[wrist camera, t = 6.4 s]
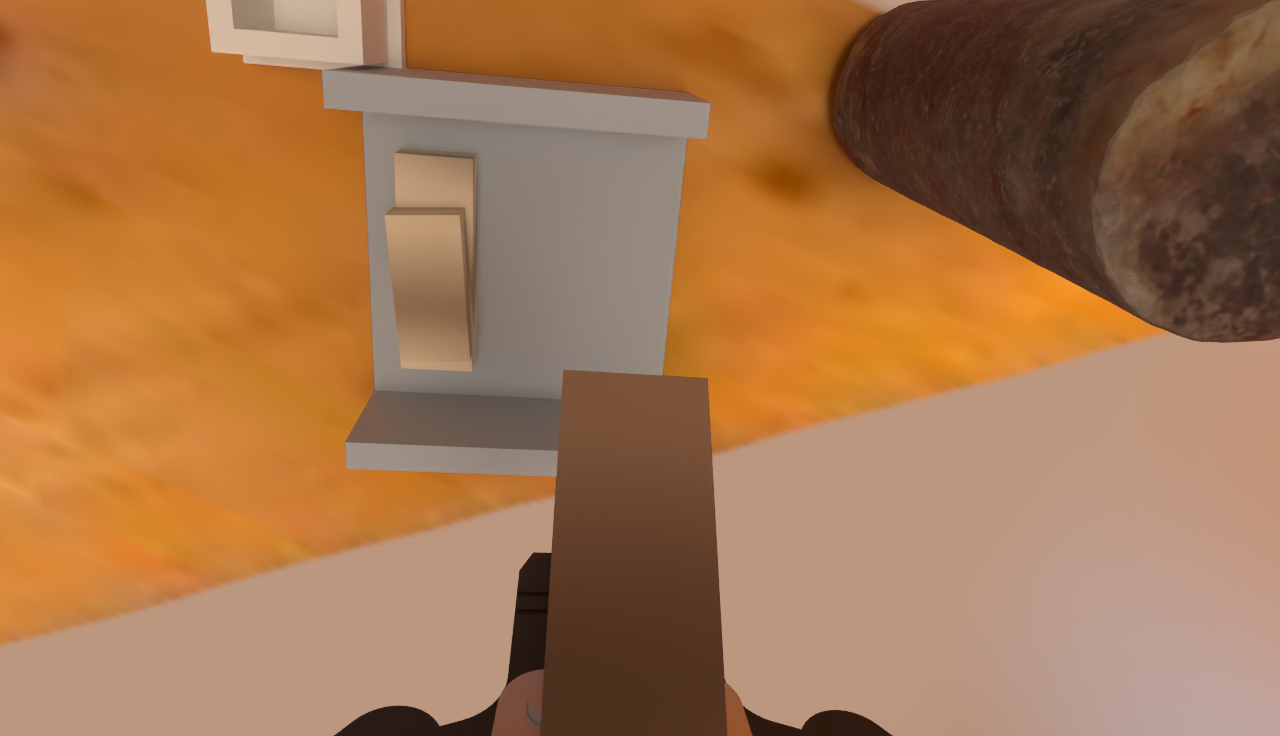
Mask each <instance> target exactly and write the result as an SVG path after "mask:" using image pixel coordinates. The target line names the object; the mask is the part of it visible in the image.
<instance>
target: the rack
mask: <svg viewBox="0 0 1280 736" xmlns="http://www.w3.org/2000/svg"><path fill="white" fill-rule="evenodd" d="M322 83H323V99H324V108H327V109H339V110H351V111H362V117H363V139H364V162H365V184H366V206H367V228H368V250H369V272H370V294H371V316H372V338H373V361H374V383H375V391H374V393H373V395H372V396H371V398H370V400H369V402H368V403H367V405H366V407H365V408H364V410H363V412H362V414H361V415H360V417H359V419H358V421H357V422H356V424H355V426H354V428H353V429H352V431H351V433H350V434H349V436H348V438H347V440H346V441H345V451H346V467H347V469H362V470H389V471H416V472H443V473H470V474H497V475H525V476H552V477H556V476H557V460H558V444H559V428H560V413H561V397H562V381H563V370H578V371H595V372H611V373H628V374H645V375H662V374H663V365H664V355H665V346H666V336H667V326H668V317H669V307H670V298H671V288H672V278H673V269H674V259H675V250H676V240H677V230H678V221H679V211H680V202H681V192H682V182H683V173H684V163H685V154H686V144H687V138H697V139H707V134H708V125H709V116H710V108H711V103H709V102H707V101H705V100H703V99H701V98H699V97H697V96H694V95H692V94H690V93H688V92H678V91H667V90H655V89H644V88H632V87H621V86H609V85H598V84H586V83H575V82H563V81H552V80H540V79H528V78H517V77H505V76H494V75H482V74H471V73H459V72H448V71H436V70H425V69H413V68H402V69H401V68H390V67H378V66H367V65H360V66H352V67H343V68H335V69H327V70H322ZM401 148H407V149H420V150H433V151H446V152H459V153H472V154H477V284H476V360H475V363H474V367H473V370H472V372H467V371H447V370H427V369H407V368H401V362H400V353H399V344H398V335H397V326H396V316H395V307H394V298H393V289H392V279H391V270H390V261H389V252H388V242H387V233H386V224H385V214H386V213H387V212H389V211H390V210H391V209H392V208H393V207H396V198H395V166H394V153H395V152H397V151H398V150H400V149H401Z"/></svg>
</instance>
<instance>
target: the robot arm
mask: <svg viewBox="0 0 1280 736" xmlns="http://www.w3.org/2000/svg"><path fill="white" fill-rule="evenodd" d="M551 554H552V553H533V554H532V555H531V556H530V558H529V559H528V560H527V562H526V563H525V564H524V565H523V567H522V568H521V569H520V571H519V581H518V589H517V598H516V608H515V617H514V626H513V636H512V645H511V655H510V664H509V673H508V679H507V684H506V686H505V688H504V690H503V691H502V693H501V695H500V697H499V698H498V699H497V700H496V701H495V702H494V703H493V704H492V705H491V706H490V707H488V708H487V709H486V710H484V711H483V712H481V713H479V714H477V715H475V716H473V717H471V718H468V719H465V720H462V721H458V722H454V723H450V724H447V725H443V726H439V725H438V723H437V722H436V721H435V719H434V718H433V717H431V716H430V715H429V714H428V713H426V712H424V711H422V710H420V709H417V708H413V707H408V706H388V707H384V708H379V709H376V710H373V711H370V712H368V713H366V714H364V715H362V716H360V717H359V718H357V719H356V720H354V721H353V722H352V723H350V724H349V725H348V726H346V727H345V728H344V729H342V730H341V731H340V732H338V733H337V734H336V735H334V736H540V728H541V712H542V696H543V681H544V665H545V649H546V633H547V617H548V602H549V586H550V570H551ZM724 681H725V678H724ZM725 699H726V717H727V735H728V736H892V735H891V734H889V733H888V732H887V731H885V730H884V729H883V728H881V727H880V726H879V725H877V724H876V723H874V722H873V721H871V720H869V719H867V718H865V717H863V716H861V715H858V714H855V713H852V712H848V711H841V710H829V711H824V712H820V713H817V714H815V715H814V716H812V717H810V718H809V719H808V720H807V721H806V722H805V724H804V726H803V727H802V730H801V729H798V728H794V727H791V726H787V725H783V724H780V723H776V722H773V721H769V720H766V719H764V718H762V717H760V716H757V715H756V714H754V713H752V712H751V711H749V710H748V709H746V708H745V707H744V706H743V705H742V702H741V700H740V698H739V696H738V695H737V693H736V692H735V691H734V690H733V689H732V688H731V686H729V685H728V684H727V683H726V681H725Z"/></svg>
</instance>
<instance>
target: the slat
mask: <svg viewBox="0 0 1280 736" xmlns="http://www.w3.org/2000/svg"><path fill="white" fill-rule="evenodd" d="M716 539H717V538H716V520H715V503H714V484H713V467H712V448H711V431H710V413H709V395H708V378H695V377H678V376H662V375H645V374H628V373H611V372H595V371H578V370H563V381H562V397H561V413H560V428H559V444H558V460H557V476H556V491H555V507H554V524H553V539H552V554H551V570H550V586H549V602H548V617H547V633H546V649H545V665H544V681H543V696H542V712H541V728H540V736H728V735H727V717H726V699H725V681H724V663H723V647H722V646H723V645H722V628H721V610H720V592H719V575H718V556H717V540H716Z"/></svg>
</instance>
